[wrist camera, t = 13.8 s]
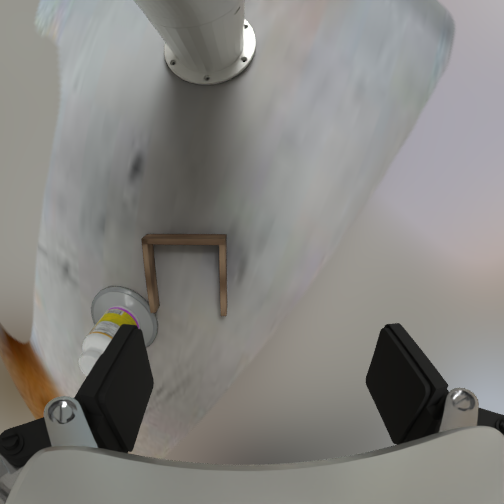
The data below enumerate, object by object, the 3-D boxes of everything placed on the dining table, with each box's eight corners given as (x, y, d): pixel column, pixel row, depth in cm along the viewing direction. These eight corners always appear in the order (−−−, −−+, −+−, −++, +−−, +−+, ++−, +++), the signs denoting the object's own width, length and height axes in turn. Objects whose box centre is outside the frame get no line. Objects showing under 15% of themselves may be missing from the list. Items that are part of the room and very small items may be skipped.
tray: (86, 284, 42) (84, 286, 41) (152, 288, 42) (151, 290, 41) (101, 344, 46) (99, 347, 45) (162, 351, 46) (161, 354, 45)
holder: (147, 234, 40) (141, 238, 37) (226, 234, 40) (225, 239, 37) (154, 305, 43) (150, 312, 41) (227, 307, 44) (226, 316, 41)
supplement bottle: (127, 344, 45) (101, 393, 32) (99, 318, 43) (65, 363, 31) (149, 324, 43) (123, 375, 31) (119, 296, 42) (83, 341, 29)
